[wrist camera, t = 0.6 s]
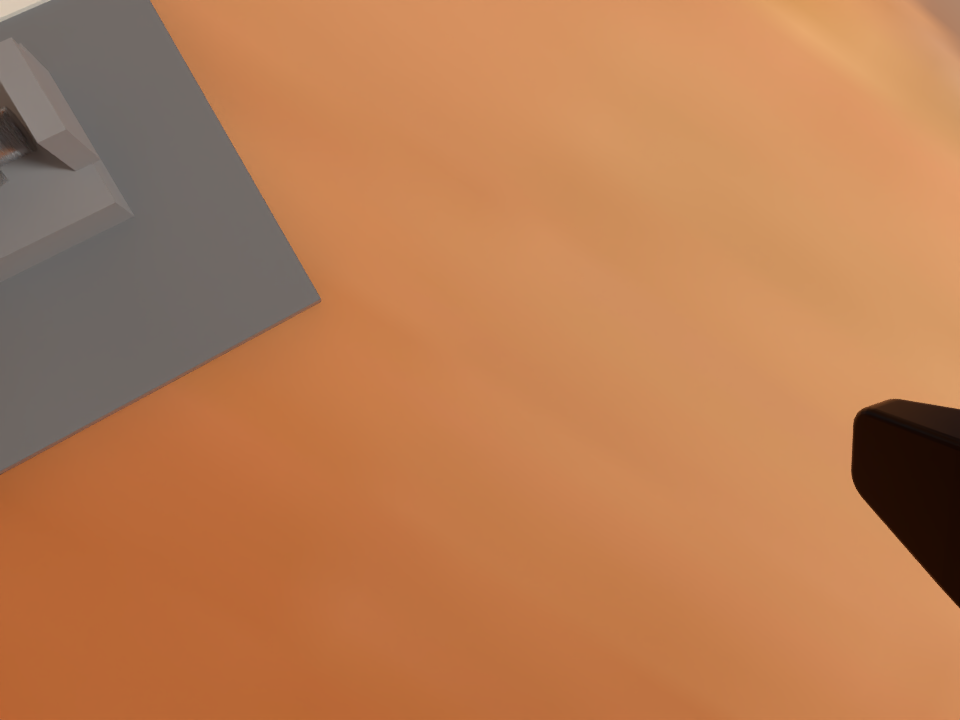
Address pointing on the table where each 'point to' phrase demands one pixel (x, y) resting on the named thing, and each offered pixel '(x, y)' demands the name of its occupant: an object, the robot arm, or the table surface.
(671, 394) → the table surface
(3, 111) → the lever
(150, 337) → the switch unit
